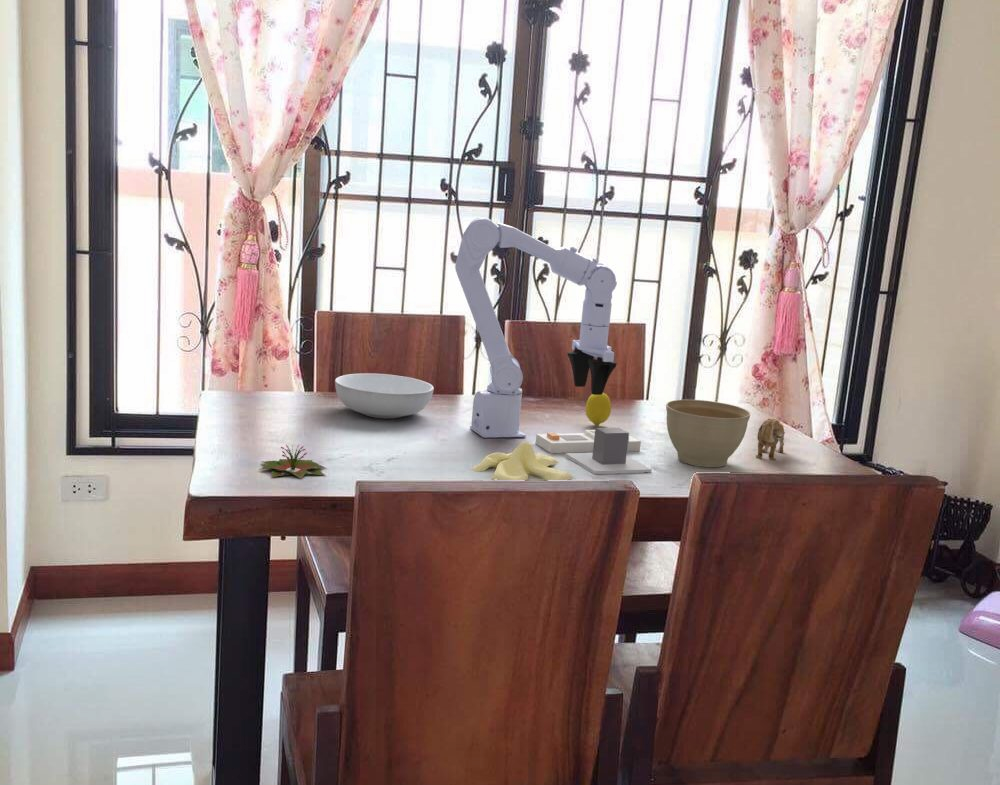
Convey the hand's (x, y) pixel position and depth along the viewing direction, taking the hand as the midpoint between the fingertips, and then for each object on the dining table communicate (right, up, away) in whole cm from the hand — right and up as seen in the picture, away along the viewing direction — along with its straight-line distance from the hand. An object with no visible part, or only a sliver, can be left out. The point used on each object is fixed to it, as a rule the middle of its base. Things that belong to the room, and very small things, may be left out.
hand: (588, 390), depth 207 cm
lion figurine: (+38, -14, +2) cm, 40 cm away
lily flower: (-53, -14, -37) cm, 66 cm away
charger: (+3, -13, -16) cm, 21 cm away
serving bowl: (-43, -5, +10) cm, 45 cm away
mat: (+2, -14, -16) cm, 21 cm away
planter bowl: (+22, -14, -7) cm, 27 cm away
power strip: (0, -11, -4) cm, 12 cm away
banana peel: (-15, -15, -25) cm, 33 cm away
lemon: (+3, -8, +15) cm, 18 cm away
